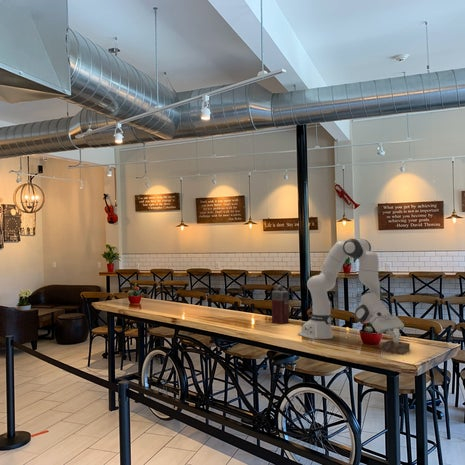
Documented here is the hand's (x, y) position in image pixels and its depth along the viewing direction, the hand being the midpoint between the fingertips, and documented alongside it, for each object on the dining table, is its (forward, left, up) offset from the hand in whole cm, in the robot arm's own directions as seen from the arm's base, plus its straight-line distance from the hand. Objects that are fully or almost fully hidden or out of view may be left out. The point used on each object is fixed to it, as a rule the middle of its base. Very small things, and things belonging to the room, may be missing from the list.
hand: (396, 336), depth 245 cm
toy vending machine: (-98, +17, -8) cm, 100 cm away
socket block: (-1, 0, -8) cm, 8 cm away
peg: (-1, 0, -6) cm, 6 cm away
